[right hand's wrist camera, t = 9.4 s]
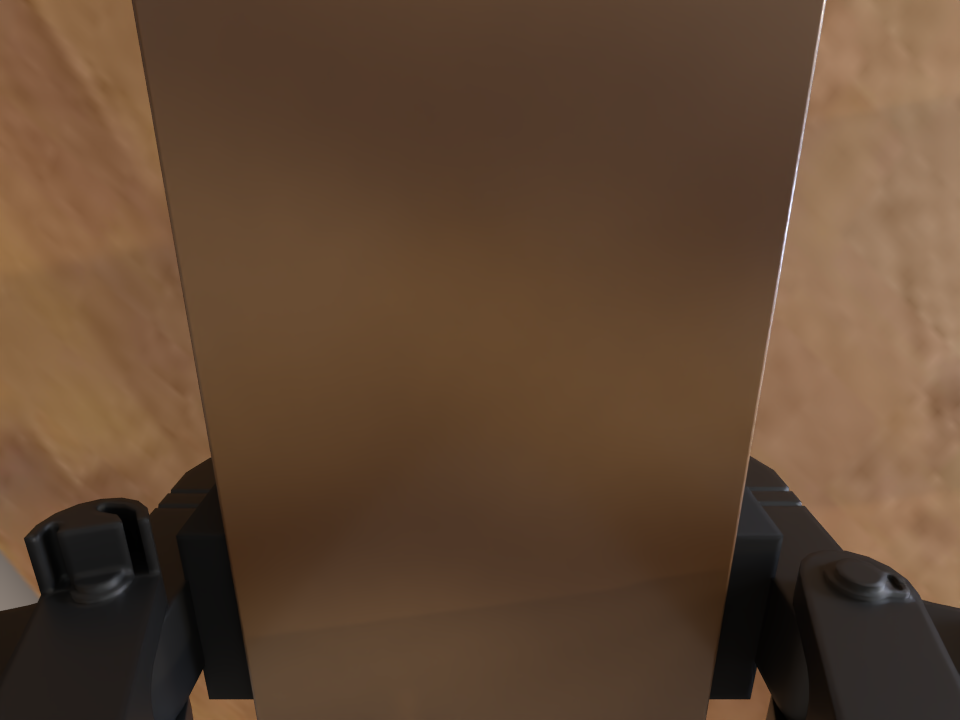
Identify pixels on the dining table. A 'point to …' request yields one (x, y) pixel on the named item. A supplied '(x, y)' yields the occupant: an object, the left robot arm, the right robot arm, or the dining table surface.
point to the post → (480, 334)
